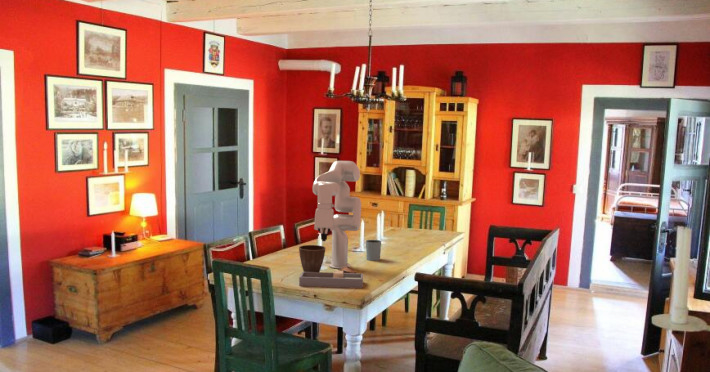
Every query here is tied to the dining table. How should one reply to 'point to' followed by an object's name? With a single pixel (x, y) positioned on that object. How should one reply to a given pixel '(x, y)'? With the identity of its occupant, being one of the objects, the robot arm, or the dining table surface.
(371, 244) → the grey tapered cup
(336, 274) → the maple block
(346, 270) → the sunglasses case
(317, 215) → the robot arm
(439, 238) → the dining table surface
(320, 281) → the eyeshadow palette tray
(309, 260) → the plant pot
